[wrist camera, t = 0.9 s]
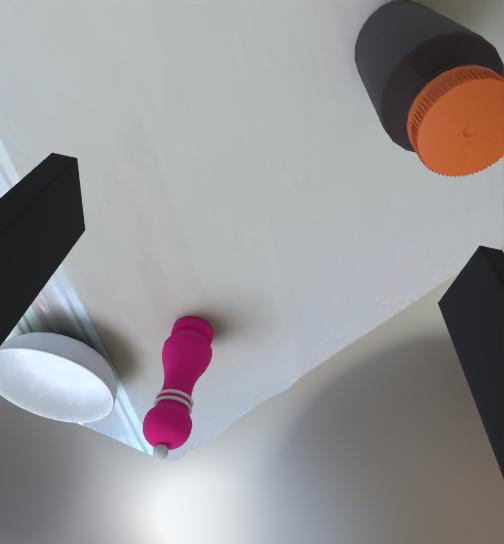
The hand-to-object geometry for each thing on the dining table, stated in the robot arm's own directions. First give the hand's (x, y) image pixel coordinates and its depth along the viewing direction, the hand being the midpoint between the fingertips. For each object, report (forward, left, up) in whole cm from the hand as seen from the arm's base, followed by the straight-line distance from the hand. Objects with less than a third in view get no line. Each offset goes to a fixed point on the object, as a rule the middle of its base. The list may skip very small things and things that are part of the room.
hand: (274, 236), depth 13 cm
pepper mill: (+41, 0, -29) cm, 50 cm away
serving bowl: (+57, -19, -29) cm, 66 cm away
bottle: (-3, +8, -29) cm, 31 cm away
